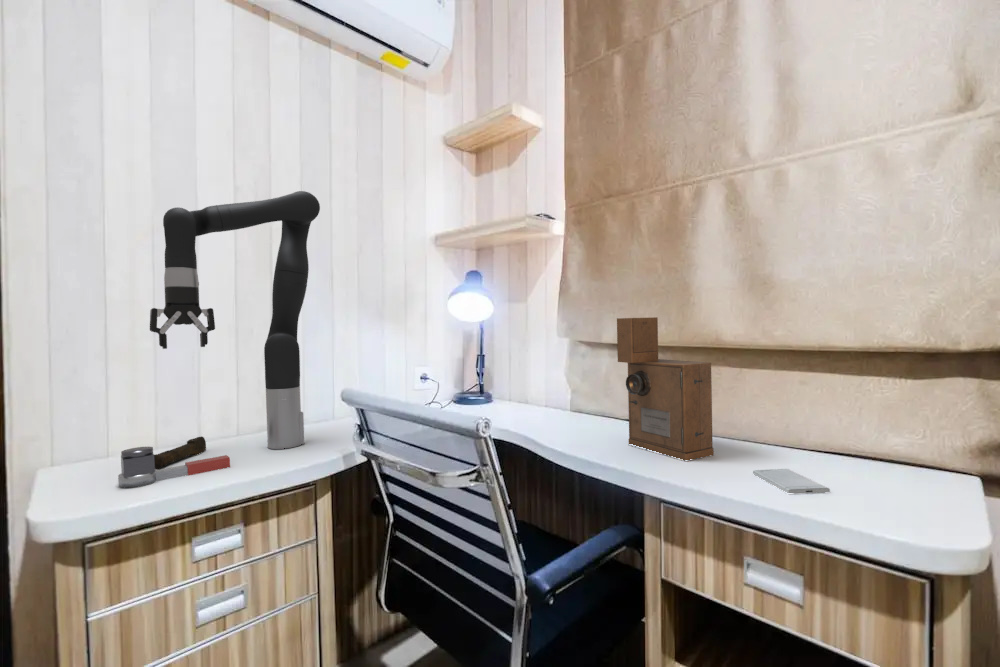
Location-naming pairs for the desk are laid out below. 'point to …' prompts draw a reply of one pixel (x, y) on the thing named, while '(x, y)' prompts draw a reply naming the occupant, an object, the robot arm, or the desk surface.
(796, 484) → the hard drive
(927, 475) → the desk surface
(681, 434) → the vintage camera
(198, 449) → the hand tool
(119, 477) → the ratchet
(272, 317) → the robot arm
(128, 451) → the block with domed cap
